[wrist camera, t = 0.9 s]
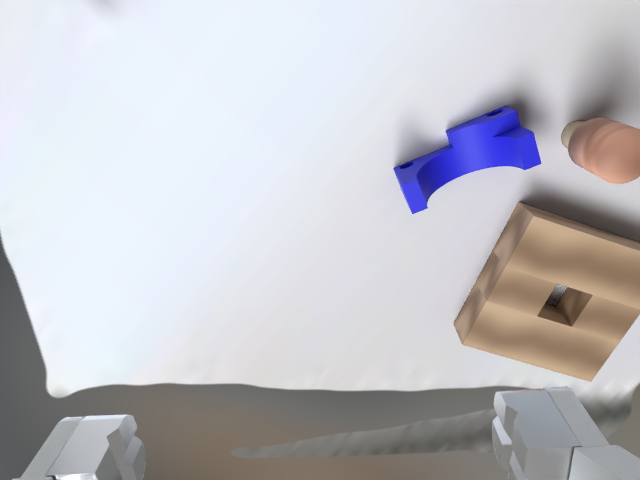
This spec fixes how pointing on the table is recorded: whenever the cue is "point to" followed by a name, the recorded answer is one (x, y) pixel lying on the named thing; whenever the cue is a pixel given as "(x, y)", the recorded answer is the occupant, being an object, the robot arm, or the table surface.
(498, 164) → the cable clip
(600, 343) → the board
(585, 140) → the peg
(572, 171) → the table surface
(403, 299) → the table surface
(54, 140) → the table surface
